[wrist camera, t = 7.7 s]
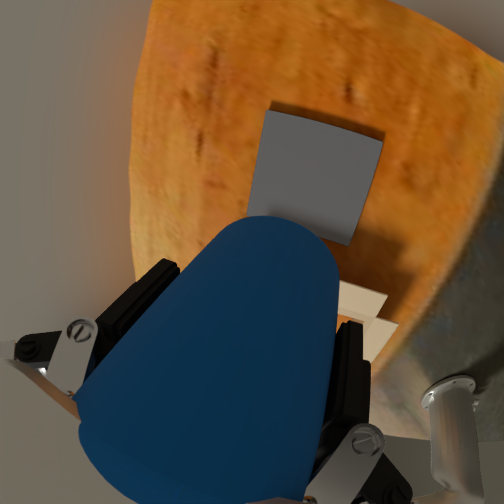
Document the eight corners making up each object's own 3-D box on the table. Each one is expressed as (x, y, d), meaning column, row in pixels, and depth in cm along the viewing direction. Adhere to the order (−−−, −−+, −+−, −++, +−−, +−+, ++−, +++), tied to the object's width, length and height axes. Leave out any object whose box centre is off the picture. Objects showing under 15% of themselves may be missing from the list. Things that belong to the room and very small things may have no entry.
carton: (405, 280, 32) (412, 303, 28) (339, 381, 45) (337, 403, 40) (234, 226, 36) (220, 243, 32) (217, 342, 49) (206, 361, 44)
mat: (381, 141, 25) (383, 142, 25) (348, 242, 32) (348, 246, 31) (268, 109, 28) (266, 109, 27) (248, 212, 34) (246, 215, 34)
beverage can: (261, 334, 16) (173, 526, 6) (190, 249, 14) (24, 432, 4) (363, 294, 13) (329, 569, 2) (289, 181, 11) (56, 509, 1)
